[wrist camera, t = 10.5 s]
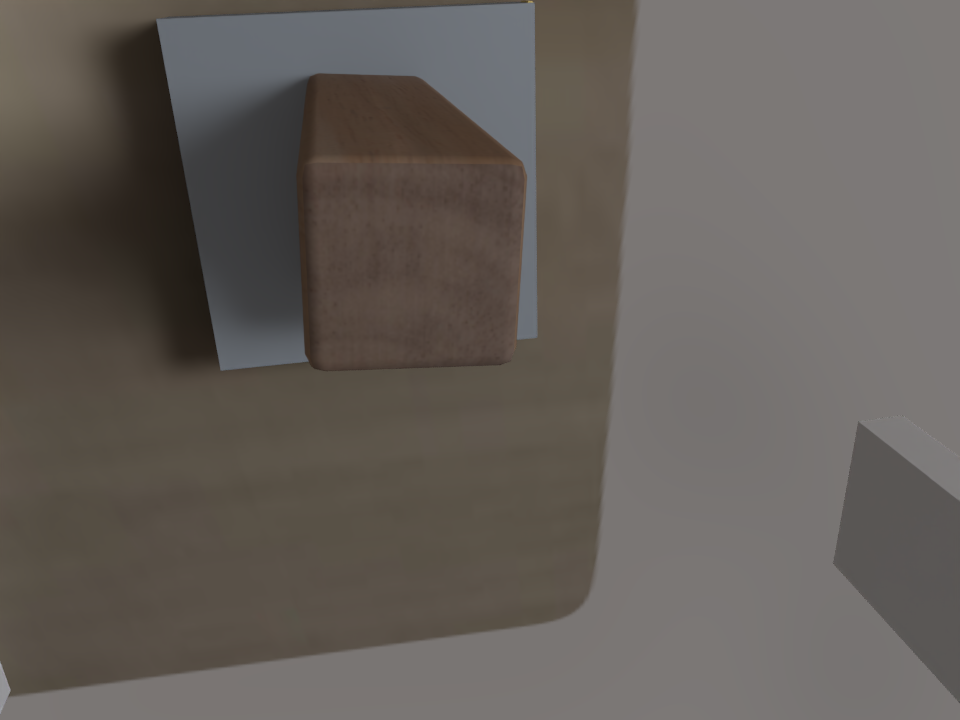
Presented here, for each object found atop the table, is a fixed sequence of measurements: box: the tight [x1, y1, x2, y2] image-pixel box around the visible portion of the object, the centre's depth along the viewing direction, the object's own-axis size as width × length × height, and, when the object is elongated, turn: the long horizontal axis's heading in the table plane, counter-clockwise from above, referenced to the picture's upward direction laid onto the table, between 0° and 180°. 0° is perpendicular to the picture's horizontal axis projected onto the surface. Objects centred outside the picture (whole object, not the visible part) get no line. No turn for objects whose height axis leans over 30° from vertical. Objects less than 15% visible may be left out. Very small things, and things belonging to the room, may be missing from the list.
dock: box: [156, 1, 537, 371], centre depth 35 cm, size 14×14×3 cm
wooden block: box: [296, 73, 527, 371], centre depth 25 cm, size 9×4×18 cm, turn 178°
